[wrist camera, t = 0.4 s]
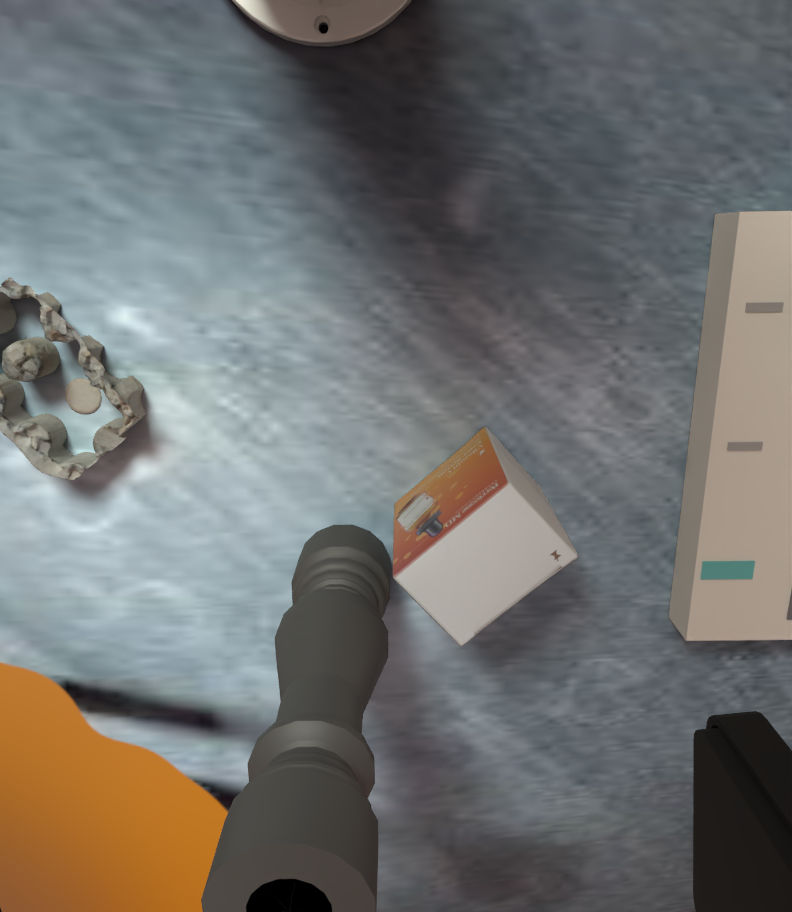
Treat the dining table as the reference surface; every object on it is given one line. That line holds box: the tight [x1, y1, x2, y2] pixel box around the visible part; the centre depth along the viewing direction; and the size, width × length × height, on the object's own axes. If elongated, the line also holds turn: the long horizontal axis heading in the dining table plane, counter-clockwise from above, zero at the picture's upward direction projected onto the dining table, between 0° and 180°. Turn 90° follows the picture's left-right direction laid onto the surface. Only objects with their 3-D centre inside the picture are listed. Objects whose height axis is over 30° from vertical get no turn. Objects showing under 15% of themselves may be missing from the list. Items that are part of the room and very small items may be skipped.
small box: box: [393, 427, 578, 646], centre depth 40 cm, size 8×6×10 cm
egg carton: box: [0, 278, 147, 480], centre depth 41 cm, size 11×8×4 cm
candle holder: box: [201, 525, 390, 912], centre depth 34 cm, size 6×6×25 cm
